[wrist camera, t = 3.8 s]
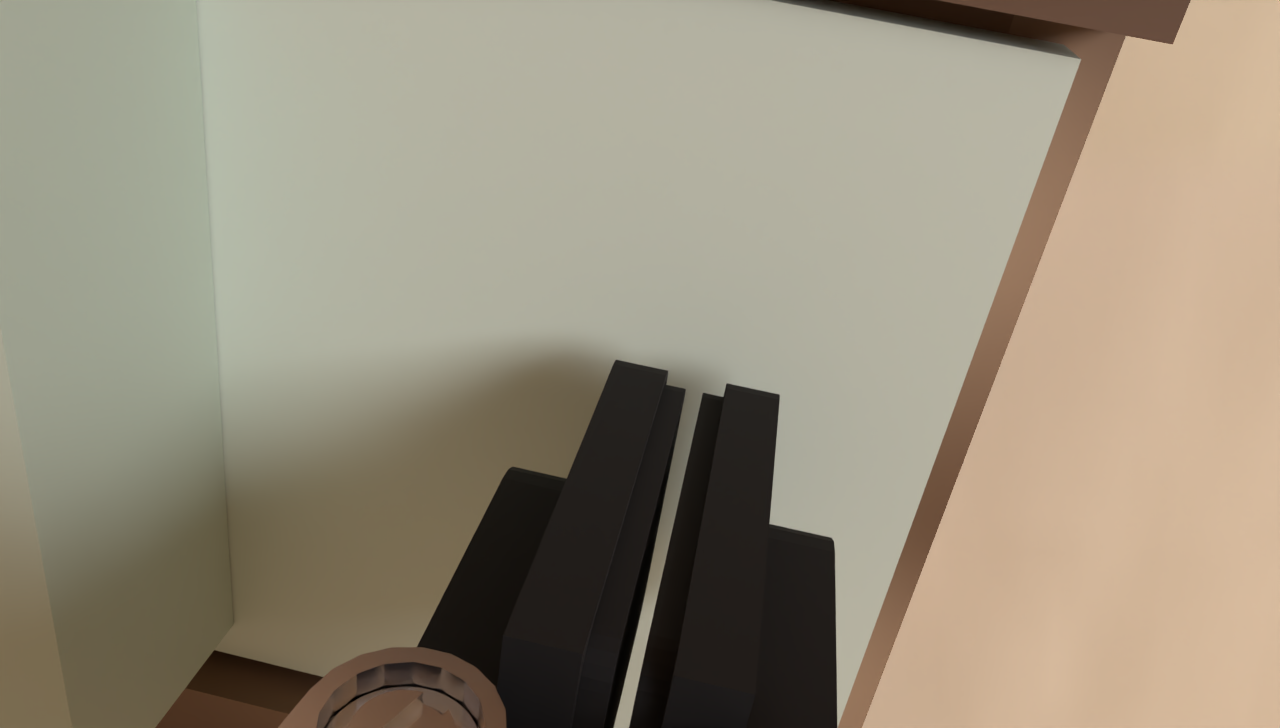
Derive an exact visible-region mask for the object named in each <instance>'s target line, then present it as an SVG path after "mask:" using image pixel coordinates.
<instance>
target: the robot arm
mask: <svg viewBox="0 0 1280 728" xmlns="http://www.w3.org/2000/svg"><path fill="white" fill-rule="evenodd" d="M667 378H668V371H667V370H663V369H658V368H653V367H649V366H644V365H639V364H635V363H630V362H625V361H621V360H615V362H614V364H613V366H612V369H611V371H610V374H609V376H608V379H607V381H606V383H605V386H604V388H603V391H602V393H601V396H600V398H599V401H598V403H597V406H596V408H595V410H594V413H593V415H592V418H591V420H590V423H589V425H588V428H587V430H586V433H585V435H584V437H583V440H582V442H581V445H580V447H579V450H578V452H577V455H576V457H575V460H574V462H573V464H572V467H571V469H570V472H569V474H568V477H567V479H566V478H562V477H557V476H553V475H548V474H544V473H539V472H535V471H531V470H526V469H522V468H517V467H511V468H509V469H508V470H507V472H506V474H505V475H504V477H503V478H502V480H501V482H500V484H499V486H498V488H497V490H496V492H495V494H494V496H493V498H492V500H491V502H490V504H489V506H488V508H487V510H486V512H485V514H484V516H483V518H482V520H481V522H480V524H479V526H478V528H477V529H476V531H475V533H474V535H473V537H472V539H471V541H470V543H469V545H468V547H467V549H466V551H465V553H464V555H463V557H462V559H461V561H460V563H459V565H458V567H457V569H456V571H455V573H454V575H453V577H452V579H451V581H450V583H449V585H448V587H447V588H446V590H445V592H444V594H443V596H442V598H441V600H440V602H439V604H438V606H437V608H436V610H435V612H434V614H433V616H432V618H431V620H430V622H429V624H428V626H427V628H426V630H425V632H424V634H423V636H422V638H421V640H420V642H419V644H418V646H417V647H391V648H387V649H383V650H378V651H374V652H370V653H366V654H361V655H359V656H357V657H355V658H353V659H351V660H349V661H347V662H345V663H343V664H341V665H339V666H337V667H335V668H333V669H332V670H331V671H330V672H329V673H328V674H326V675H325V676H324V677H323V678H322V679H321V680H320V681H319V682H317V683H316V684H315V685H314V686H313V687H312V688H311V689H310V690H309V691H308V692H307V693H306V695H305V696H304V697H303V698H302V699H301V701H300V702H299V703H298V704H297V705H296V706H295V708H294V709H293V710H292V711H291V712H290V714H289V715H288V716H287V717H286V718H285V720H284V721H283V722H282V723H281V724H280V726H279V727H278V728H614V724H615V720H616V716H617V712H618V708H619V703H620V699H621V695H622V691H623V687H624V683H625V678H626V674H627V670H628V666H629V662H630V657H631V653H632V649H633V645H634V641H635V637H636V632H637V628H638V624H639V620H640V615H641V611H642V606H643V602H644V597H645V592H646V587H647V582H648V577H649V572H650V567H651V562H652V557H653V552H654V547H655V542H656V537H657V532H658V527H659V522H660V517H661V512H662V507H663V502H664V497H665V492H666V487H667V482H668V477H669V472H670V467H671V463H672V458H673V453H674V448H675V443H676V438H677V433H678V428H679V423H680V418H681V413H682V408H683V403H684V397H685V392H686V389H684V388H679V387H675V386H670V385H666V384H667ZM779 402H780V395H779V394H775V393H770V392H766V391H761V390H756V389H752V388H747V387H742V386H738V385H733V384H728V383H727V384H726V388H725V392H724V396H723V397H721V396H717V395H712V394H707V393H703V394H702V399H701V403H700V408H699V412H698V417H697V421H696V426H695V430H694V435H693V439H692V444H691V448H690V453H689V457H688V461H687V466H686V470H685V475H684V479H683V484H682V488H681V493H680V497H679V502H678V506H677V511H676V515H675V520H674V524H673V529H672V533H671V538H670V542H669V547H668V551H667V556H666V560H665V565H664V569H663V574H662V578H661V583H660V587H659V591H658V596H657V600H656V605H655V609H654V614H653V618H652V623H651V627H650V632H649V636H648V641H647V645H646V650H645V655H644V659H643V664H642V668H641V673H640V678H639V682H638V687H637V692H636V697H635V701H634V706H633V711H632V716H631V721H630V725H629V728H837V660H836V587H835V547H834V541H833V539H832V538H831V537H826V536H822V535H817V534H813V533H808V532H804V531H799V530H795V529H790V528H786V527H781V526H777V525H772V524H769V523H770V511H771V499H772V487H773V475H774V462H775V450H776V438H777V426H778V414H779Z"/></svg>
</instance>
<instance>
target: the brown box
mask: <svg viewBox="0 0 1280 728" xmlns="http://www.w3.org/2000/svg"><path fill="white" fill-rule="evenodd" d="M831 1H836V2H841V3H846V4H852V5H857V6H862V7H868V8H873V9H878V10H883V11H889V12H894V13H899V14H905V15H910V16H915V17H920V18H926V19H931V20H936V21H942V22H947V23H952V24H957V25H963V26H968V27H973V28H979V29H984V30H989V31H994V32H1000V33H1005V34H1010V35H1016V36H1021V37H1026V38H1031V39H1037V40H1042V41H1047V42H1052V43H1058V44H1063V45H1065V46H1066V47H1067V48H1068V49H1070V50H1071V51H1072V52H1073V53H1074V54H1076V55H1077V56H1078V57H1079V58H1080V59H1081V61H1080V64H1079V67H1078V70H1077V72H1076V75H1075V78H1074V81H1073V83H1072V86H1071V89H1070V92H1069V94H1068V97H1067V100H1066V103H1065V105H1064V108H1063V111H1062V113H1061V116H1060V119H1059V122H1058V124H1057V127H1056V130H1055V133H1054V135H1053V138H1052V141H1051V144H1050V146H1049V149H1048V152H1047V155H1046V157H1045V160H1044V163H1043V166H1042V168H1041V171H1040V174H1039V177H1038V179H1037V182H1036V185H1035V188H1034V190H1033V193H1032V196H1031V199H1030V201H1029V204H1028V207H1027V210H1026V212H1025V215H1024V218H1023V221H1022V223H1021V226H1020V229H1019V231H1018V234H1017V237H1016V240H1015V242H1014V245H1013V248H1012V251H1011V253H1010V256H1009V259H1008V262H1007V264H1006V267H1005V270H1004V273H1003V275H1002V278H1001V281H1000V284H999V286H998V289H997V292H996V295H995V297H994V300H993V303H992V306H991V308H990V311H989V314H988V317H987V319H986V322H985V325H984V328H983V330H982V333H981V336H980V339H979V341H978V344H977V347H976V349H975V352H974V355H973V358H972V360H971V363H970V366H969V369H968V371H967V374H966V377H965V380H964V382H963V385H962V388H961V391H960V393H959V396H958V399H957V402H956V404H955V407H954V410H953V413H952V415H951V418H950V421H949V424H948V426H947V429H946V432H945V435H944V437H943V440H942V443H941V446H940V448H939V451H938V454H937V457H936V459H935V462H934V465H933V467H932V470H931V473H930V476H929V478H928V481H927V484H926V487H925V489H924V492H923V495H922V498H921V500H920V503H919V506H918V509H917V511H916V514H915V517H914V520H913V522H912V525H911V528H910V531H909V533H908V536H907V539H906V542H905V544H904V547H903V550H902V553H901V555H900V558H899V561H898V564H897V566H896V569H895V572H894V575H893V577H892V580H891V583H890V585H889V588H888V591H887V594H886V596H885V599H884V602H883V605H882V607H881V610H880V613H879V616H878V618H877V621H876V624H875V627H874V629H873V632H872V635H871V638H870V640H869V643H868V646H867V649H866V651H865V654H864V657H863V660H862V662H861V665H860V668H859V671H858V673H857V676H856V679H855V682H854V684H853V687H852V690H851V693H850V695H849V698H848V701H847V704H846V706H845V709H844V712H843V714H842V717H841V720H840V723H839V725H838V728H862V726H863V723H864V720H865V718H866V715H867V713H868V710H869V707H870V705H871V702H872V699H873V697H874V694H875V692H876V689H877V686H878V684H879V681H880V678H881V676H882V673H883V671H884V668H885V665H886V663H887V660H888V658H889V655H890V652H891V650H892V647H893V644H894V642H895V639H896V637H897V634H898V631H899V629H900V626H901V623H902V621H903V618H904V616H905V613H906V610H907V608H908V605H909V602H910V600H911V597H912V595H913V592H914V589H915V587H916V584H917V582H918V579H919V576H920V574H921V571H922V568H923V566H924V563H925V561H926V558H927V555H928V553H929V550H930V547H931V545H932V542H933V540H934V537H935V534H936V532H937V529H938V526H939V524H940V521H941V519H942V516H943V513H944V511H945V508H946V505H947V503H948V500H949V498H950V495H951V492H952V490H953V487H954V485H955V482H956V479H957V477H958V474H959V471H960V469H961V466H962V464H963V461H964V458H965V456H966V453H967V450H968V448H969V445H970V443H971V440H972V437H973V435H974V432H975V429H976V427H977V424H978V422H979V419H980V416H981V414H982V411H983V408H984V406H985V403H986V401H987V398H988V395H989V393H990V390H991V388H992V385H993V382H994V380H995V377H996V374H997V372H998V369H999V367H1000V364H1001V361H1002V359H1003V356H1004V353H1005V351H1006V348H1007V346H1008V343H1009V340H1010V338H1011V335H1012V332H1013V330H1014V327H1015V325H1016V322H1017V319H1018V317H1019V314H1020V312H1021V309H1022V306H1023V304H1024V301H1025V298H1026V296H1027V293H1028V291H1029V288H1030V285H1031V283H1032V280H1033V277H1034V275H1035V272H1036V270H1037V267H1038V264H1039V262H1040V259H1041V256H1042V254H1043V251H1044V249H1045V246H1046V243H1047V241H1048V238H1049V235H1050V233H1051V230H1052V228H1053V225H1054V222H1055V220H1056V217H1057V215H1058V212H1059V209H1060V207H1061V204H1062V201H1063V199H1064V196H1065V194H1066V191H1067V188H1068V186H1069V183H1070V180H1071V178H1072V175H1073V173H1074V170H1075V167H1076V165H1077V162H1078V159H1079V157H1080V154H1081V152H1082V149H1083V146H1084V144H1085V141H1086V138H1087V136H1088V133H1089V131H1090V128H1091V125H1092V123H1093V120H1094V118H1095V115H1096V112H1097V110H1098V107H1099V104H1100V102H1101V99H1102V97H1103V94H1104V91H1105V89H1106V86H1107V83H1108V81H1109V78H1110V76H1111V73H1112V70H1113V68H1114V65H1115V62H1116V60H1117V57H1118V55H1119V52H1120V49H1121V47H1122V44H1123V41H1124V39H1125V36H1131V37H1136V38H1142V39H1147V40H1152V41H1158V42H1163V43H1168V44H1173V42H1174V40H1175V37H1176V35H1177V32H1178V30H1179V27H1180V25H1181V22H1182V20H1183V18H1184V15H1185V13H1186V10H1187V8H1188V5H1189V3H1190V0H831ZM322 678H323V677H321V676H317V675H313V674H309V673H305V672H301V671H297V670H293V669H289V668H285V667H281V666H277V665H273V664H269V663H265V662H261V661H257V660H253V659H248V658H244V657H240V656H236V655H232V654H228V653H224V652H220V651H216V650H214V651H213V652H212V654H211V655H210V656H209V658H208V659H207V660H206V661H205V663H204V664H203V665H202V667H201V668H200V669H199V671H198V672H197V673H196V675H195V676H194V677H193V679H192V680H191V681H190V683H189V684H188V685H187V687H186V688H185V689H184V691H183V692H182V693H181V694H180V696H179V697H178V698H177V700H176V701H175V702H174V704H173V705H172V706H171V708H170V709H169V710H168V712H167V713H166V714H165V716H164V717H163V718H162V720H161V721H160V722H159V724H158V725H157V726H156V727H155V728H278V727H279V726H280V724H281V723H282V722H283V721H284V720H285V718H286V717H287V716H288V715H289V714H290V712H291V711H292V710H293V709H294V708H295V706H296V705H297V704H298V703H299V702H300V701H301V699H302V698H303V697H304V696H305V695H306V693H307V692H308V691H309V690H310V689H311V688H312V687H313V686H314V685H315V684H316V683H317V682H319V681H320V680H321V679H322Z"/></svg>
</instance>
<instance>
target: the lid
mask: <svg viewBox="0 0 1280 728" xmlns="http://www.w3.org/2000/svg"><path fill="white" fill-rule="evenodd" d="M1080 61H1081V59H1080V58H1079V57H1078V56H1077V55H1076V54H1074V53H1073V52H1072V51H1071V50H1070V49H1068V48H1067V47H1066V46H1065V45H1063V44H1058V43H1052V42H1047V41H1042V40H1037V39H1031V38H1026V37H1021V36H1016V35H1010V34H1005V33H1000V32H994V31H989V30H984V29H979V28H973V27H968V26H963V25H957V24H952V23H947V22H942V21H936V20H931V19H926V18H920V17H915V16H910V15H905V14H899V13H894V12H889V11H883V10H878V9H873V8H868V7H862V6H857V5H852V4H846V3H841V2H836V1H831V0H0V728H155V727H156V726H157V725H158V724H159V722H160V721H161V720H162V718H163V717H164V716H165V714H166V713H167V712H168V710H169V709H170V708H171V706H172V705H173V704H174V702H175V701H176V700H177V698H178V697H179V696H180V694H181V693H182V692H183V691H184V689H185V688H186V687H187V685H188V684H189V683H190V681H191V680H192V679H193V677H194V676H195V675H196V673H197V672H198V671H199V669H200V668H201V667H202V665H203V664H204V663H205V661H206V660H207V659H208V658H209V656H210V655H211V654H212V652H213V651H214V650H216V651H220V652H224V653H228V654H232V655H236V656H240V657H244V658H248V659H253V660H257V661H261V662H265V663H269V664H273V665H277V666H281V667H285V668H289V669H293V670H297V671H301V672H305V673H309V674H313V675H317V676H321V677H324V676H325V675H326V674H328V673H329V672H330V671H331V670H332V669H333V668H335V667H337V666H339V665H341V664H343V663H345V662H347V661H349V660H351V659H353V658H355V657H357V656H359V655H361V654H366V653H370V652H374V651H378V650H383V649H387V648H391V647H417V646H418V644H419V642H420V640H421V638H422V636H423V634H424V632H425V630H426V628H427V626H428V624H429V622H430V620H431V618H432V616H433V614H434V612H435V610H436V608H437V606H438V604H439V602H440V600H441V598H442V596H443V594H444V592H445V590H446V588H447V587H448V585H449V583H450V581H451V579H452V577H453V575H454V573H455V571H456V569H457V567H458V565H459V563H460V561H461V559H462V557H463V555H464V553H465V551H466V549H467V547H468V545H469V543H470V541H471V539H472V537H473V535H474V533H475V531H476V529H477V528H478V526H479V524H480V522H481V520H482V518H483V516H484V514H485V512H486V510H487V508H488V506H489V504H490V502H491V500H492V498H493V496H494V494H495V492H496V490H497V488H498V486H499V484H500V482H501V480H502V478H503V477H504V475H505V474H506V472H507V470H508V469H509V468H511V467H517V468H522V469H526V470H531V471H535V472H539V473H544V474H548V475H553V476H557V477H562V478H566V479H567V477H568V474H569V472H570V469H571V467H572V464H573V462H574V460H575V457H576V455H577V452H578V450H579V447H580V445H581V442H582V440H583V437H584V435H585V433H586V430H587V428H588V425H589V423H590V420H591V418H592V415H593V413H594V410H595V408H596V406H597V403H598V401H599V398H600V396H601V393H602V391H603V388H604V386H605V383H606V381H607V379H608V376H609V374H610V371H611V369H612V366H613V364H614V362H615V360H621V361H625V362H630V363H635V364H639V365H644V366H649V367H653V368H658V369H663V370H667V371H668V378H667V384H666V385H670V386H675V387H679V388H684V389H686V392H685V397H684V403H683V408H682V413H681V418H680V423H679V428H678V433H677V438H676V443H675V448H674V453H673V458H672V463H671V467H670V472H669V477H668V482H667V487H666V492H665V497H664V502H663V507H662V512H661V517H660V522H659V527H658V532H657V537H656V542H655V547H654V552H653V557H652V562H651V567H650V572H649V577H648V582H647V587H646V592H645V597H644V602H643V606H642V611H641V615H640V620H639V624H638V628H637V632H636V637H635V641H634V645H633V649H632V653H631V657H630V662H629V666H628V670H627V674H626V678H625V683H624V687H623V691H622V695H621V699H620V703H619V708H618V712H617V716H616V720H615V724H614V728H629V725H630V721H631V716H632V711H633V706H634V701H635V697H636V692H637V687H638V682H639V678H640V673H641V668H642V664H643V659H644V655H645V650H646V645H647V641H648V636H649V632H650V627H651V623H652V618H653V614H654V609H655V605H656V600H657V596H658V591H659V587H660V583H661V578H662V574H663V569H664V565H665V560H666V556H667V551H668V547H669V542H670V538H671V533H672V529H673V524H674V520H675V515H676V511H677V506H678V502H679V497H680V493H681V488H682V484H683V479H684V475H685V470H686V466H687V461H688V457H689V453H690V448H691V444H692V439H693V435H694V430H695V426H696V421H697V417H698V412H699V408H700V403H701V399H702V394H703V393H707V394H712V395H717V396H721V397H723V396H724V392H725V388H726V384H727V383H728V384H733V385H738V386H742V387H747V388H752V389H756V390H761V391H766V392H770V393H775V394H779V395H780V402H779V414H778V426H777V438H776V450H775V462H774V475H773V487H772V499H771V511H770V523H769V524H772V525H777V526H781V527H786V528H790V529H795V530H799V531H804V532H808V533H813V534H817V535H822V536H826V537H831V538H832V539H833V541H834V547H835V587H836V660H837V728H838V725H839V723H840V720H841V717H842V714H843V712H844V709H845V706H846V704H847V701H848V698H849V695H850V693H851V690H852V687H853V684H854V682H855V679H856V676H857V673H858V671H859V668H860V665H861V662H862V660H863V657H864V654H865V651H866V649H867V646H868V643H869V640H870V638H871V635H872V632H873V629H874V627H875V624H876V621H877V618H878V616H879V613H880V610H881V607H882V605H883V602H884V599H885V596H886V594H887V591H888V588H889V585H890V583H891V580H892V577H893V575H894V572H895V569H896V566H897V564H898V561H899V558H900V555H901V553H902V550H903V547H904V544H905V542H906V539H907V536H908V533H909V531H910V528H911V525H912V522H913V520H914V517H915V514H916V511H917V509H918V506H919V503H920V500H921V498H922V495H923V492H924V489H925V487H926V484H927V481H928V478H929V476H930V473H931V470H932V467H933V465H934V462H935V459H936V457H937V454H938V451H939V448H940V446H941V443H942V440H943V437H944V435H945V432H946V429H947V426H948V424H949V421H950V418H951V415H952V413H953V410H954V407H955V404H956V402H957V399H958V396H959V393H960V391H961V388H962V385H963V382H964V380H965V377H966V374H967V371H968V369H969V366H970V363H971V360H972V358H973V355H974V352H975V349H976V347H977V344H978V341H979V339H980V336H981V333H982V330H983V328H984V325H985V322H986V319H987V317H988V314H989V311H990V308H991V306H992V303H993V300H994V297H995V295H996V292H997V289H998V286H999V284H1000V281H1001V278H1002V275H1003V273H1004V270H1005V267H1006V264H1007V262H1008V259H1009V256H1010V253H1011V251H1012V248H1013V245H1014V242H1015V240H1016V237H1017V234H1018V231H1019V229H1020V226H1021V223H1022V221H1023V218H1024V215H1025V212H1026V210H1027V207H1028V204H1029V201H1030V199H1031V196H1032V193H1033V190H1034V188H1035V185H1036V182H1037V179H1038V177H1039V174H1040V171H1041V168H1042V166H1043V163H1044V160H1045V157H1046V155H1047V152H1048V149H1049V146H1050V144H1051V141H1052V138H1053V135H1054V133H1055V130H1056V127H1057V124H1058V122H1059V119H1060V116H1061V113H1062V111H1063V108H1064V105H1065V103H1066V100H1067V97H1068V94H1069V92H1070V89H1071V86H1072V83H1073V81H1074V78H1075V75H1076V72H1077V70H1078V67H1079V64H1080Z"/></svg>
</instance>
